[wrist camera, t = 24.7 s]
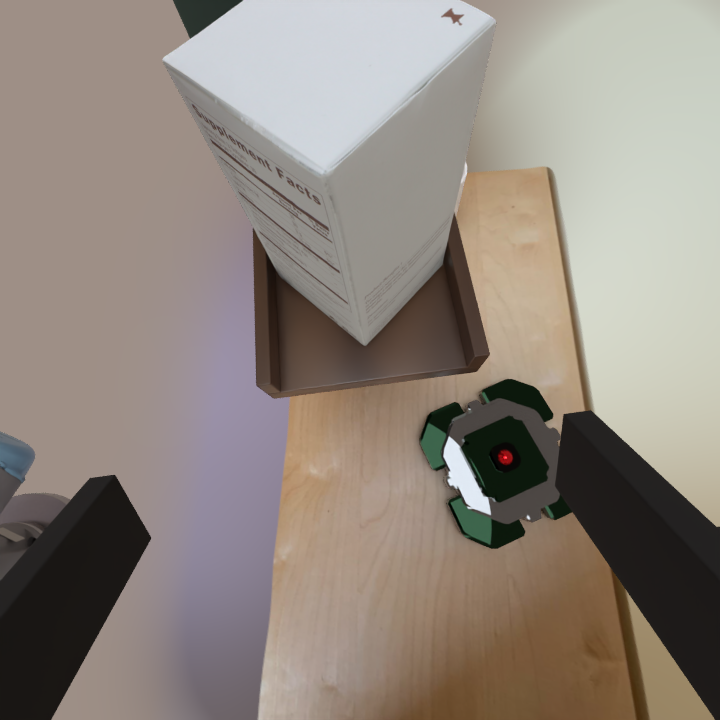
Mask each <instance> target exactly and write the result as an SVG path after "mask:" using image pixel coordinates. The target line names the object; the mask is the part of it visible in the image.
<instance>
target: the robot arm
mask: <svg viewBox="0 0 720 720" xmlns="http://www.w3.org/2000/svg"><path fill="white" fill-rule="evenodd" d="M34 459H35V452H34V450H33V449H32V448H31V447H30V446H29V445H28V444H26V443H24V442H22V441H21V440H18V439H16V438H14V437H12V436H9V435H7V434H5V433H3V432H0V514H1V513H2V511H3V510H4V508H5V507H6V505H7V504H8V502H9V501H10V499H11V498H12V496H13V495H14V493H15V492H16V491H17V489H18V488H19V486H20V485H21V483H23V482H24V480H25V475H26V473H27V472H28V470H29V468H30V467H31V465H32V463H33V461H34ZM555 487H556V489H557V490H558V492H559V493H560V494H561V496H562V497H563V499H564V500H565V502H566V503H567V505H568V506H569V508H570V509H571V510H572V512H573V513H574V515H575V516H576V518H577V519H578V521H579V522H580V524H581V525H582V526H583V528H584V529H585V531H586V532H587V534H588V535H589V537H590V538H591V540H592V541H593V542H594V544H595V545H596V547H597V548H598V550H599V551H600V553H601V554H602V556H603V557H604V558H605V560H606V561H607V563H608V564H609V566H610V567H611V569H612V570H613V572H614V573H615V574H616V576H617V577H618V579H619V580H620V582H621V583H622V585H623V586H624V588H625V589H626V590H627V592H628V593H629V595H630V596H631V598H632V599H633V601H634V602H635V603H636V605H637V606H638V608H639V609H640V611H641V612H642V614H643V615H644V617H645V618H646V620H647V621H648V622H649V624H650V625H651V627H652V628H653V630H654V631H655V633H656V634H657V636H658V637H659V638H660V640H661V641H662V643H663V644H664V646H665V647H666V649H667V650H668V652H669V653H670V654H671V656H672V657H673V659H674V660H675V662H676V663H677V665H678V666H679V668H680V669H681V671H682V672H683V673H684V675H685V676H686V678H687V679H688V681H689V682H690V683H691V685H692V687H693V688H694V689H695V691H696V692H697V694H698V695H699V696H700V698H701V700H702V701H703V703H704V704H705V705H706V707H707V708H708V710H709V711H710V713H711V714H712V715H713V717H714V719H715V720H720V527H716V526H715V525H714V524H713V523H712V522H710V521H709V520H708V519H707V518H706V517H705V516H704V515H703V514H702V513H701V512H700V511H699V510H698V509H697V508H695V507H694V506H693V505H692V504H691V503H690V502H689V501H688V500H687V499H686V498H685V497H684V496H683V495H682V494H680V493H679V492H678V491H677V490H676V489H675V488H674V487H673V486H672V485H671V484H669V482H668V481H666V480H665V479H664V478H663V477H662V476H661V475H660V474H659V473H658V472H657V471H656V470H655V469H654V468H652V467H651V466H650V465H649V464H648V463H647V462H646V461H645V460H644V459H643V458H642V457H641V456H640V455H638V454H637V453H636V452H635V451H634V450H633V449H632V448H631V447H630V446H629V445H628V444H627V443H626V442H624V441H623V440H622V439H621V438H620V437H619V436H618V435H617V434H616V433H615V432H614V431H613V430H612V429H610V428H609V427H608V426H607V425H606V424H605V423H604V422H603V421H602V420H601V419H600V418H599V417H597V416H596V415H595V414H594V413H593V412H592V411H583V412H576V413H569V414H564V416H563V424H562V432H561V440H560V448H559V456H558V464H557V472H556V481H555ZM150 540H151V537H150V535H149V533H148V531H147V530H146V528H145V526H144V524H143V523H142V521H141V520H140V517H139V516H138V514H137V512H136V510H135V509H134V507H133V505H132V504H131V502H130V500H129V498H128V497H127V495H126V493H125V491H124V490H123V488H122V486H121V484H120V483H119V481H118V479H117V477H116V476H115V475H110V476H103V477H95V478H90V479H89V480H88V481H87V482H86V483H85V484H84V486H83V487H82V488H81V489H80V490H79V491H78V492H77V493H76V495H75V496H74V497H73V498H72V499H71V500H70V501H69V503H68V504H67V505H66V506H65V507H64V508H63V509H62V511H61V512H60V513H59V514H58V515H57V516H56V517H55V519H54V520H53V521H52V522H51V523H50V524H49V525H48V527H47V528H46V527H44V526H42V525H40V524H38V523H35V522H30V521H21V522H11V523H4V524H1V525H0V720H51V719H52V717H53V715H54V713H55V712H56V710H57V708H58V706H59V704H60V703H61V701H62V699H63V697H64V695H65V693H66V692H67V690H68V688H69V686H70V684H71V683H72V681H73V679H74V677H75V675H76V674H77V672H78V670H79V668H80V666H81V664H82V663H83V661H84V659H85V657H86V656H87V654H88V652H89V650H90V648H91V646H92V644H93V643H94V641H95V639H96V637H97V635H98V634H99V632H100V630H101V628H102V627H103V625H104V623H105V621H106V619H107V617H108V616H109V614H110V612H111V610H112V608H113V607H114V605H115V603H116V601H117V599H118V598H119V596H120V594H121V592H122V590H123V589H124V587H125V585H126V583H127V581H128V580H129V578H130V576H131V574H132V572H133V570H134V569H135V567H136V565H137V563H138V561H139V560H140V558H141V556H142V554H143V552H144V550H145V549H146V547H147V545H148V543H149V542H150Z"/></svg>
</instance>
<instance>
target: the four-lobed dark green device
mask: <svg viewBox="0 0 720 720" xmlns="http://www.w3.org/2000/svg"><path fill="white" fill-rule="evenodd" d="M479 396H480V397H481V399H482V401H483V403H484V405H482V404H480V403H479V402H478V401H477V400H475V401H472V402H470V403H468V404H467V405H466V406H465V413H464V412H463V411H462V409H461V407H460V405H459V403H456V402H454V403H452V404H449V405H447V406H445V407H443V408H440V409H438V410H436V411H434V412H431V413H430V414H429V415H428V416H427V418H426V421H425V424H424V427H423V429H422V432H421V435H420V438H419V444H420V446H421V448H422V450H423V452H424V455H425V457H426V459H427V461H428V463H429V465H430V467H431V469H432V470H434V471H438V470H440V469H442V468H445V470H446V476H445V477H443V481H444V483H445V485H446V487H447V488H448V489H454V490H455V491H456V493H457V495H456V496H454V497H451V498H449V499H448V500H447V503H446V504H447V506H448V508H449V510H450V512H451V514H452V517H453V519H454V521H455V523H456V525H457V527H458V529H459V531H460V533H461V534H462V535H463V536H464V537H466V538H468V539H470V540H472V541H475V542H477V543H479V544H482V545H484V546H486V547H489V548H491V549H497V548H499V547H501V546H504V545H506V544H508V543H510V542H512V541H514V540H516V539H518V538H520V537H522V536H524V534H525V530H524V528H523V526H522V524H521V522H520V520H519V519H521V518H523V519H525V520H526V521H529V522H534V521H536V520H538V519H541V509H543V511H544V513H545V515H546V517H547V518H550V519H553V520H557V519H559V518H561V517H563V516H565V515H567V514H569V513H572V510H571V509H570V508H569V506H568V505H567V503H566V502H565V500H564V499H563V497H562V496H561V494H560V493H559V492H558V490H557V489H556V487H555V481H556V472H557V464H558V456H559V448H560V447H559V446H558V444H557V441H558V440H560V434H559V433H558V431H557V430H556V429H555V428H551V429H549V428H548V427H547V426H546V425H545V423H544V422H546V421H548V420H550V419H552V418H553V413H552V411H551V410H550V408H549V407H548V405H547V403H546V402H545V400H544V398H543V397H542V395H541V394H540V392H539V390H537V389H536V388H535V387H533V386H530V385H527V384H524V383H521V382H519V381H516V380H513V379H506V380H504V381H501V382H499V383H497V384H495V385H492V386H490V387H488V388H486V389H483V390H482V391H481V392H480V395H479Z"/></svg>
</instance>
